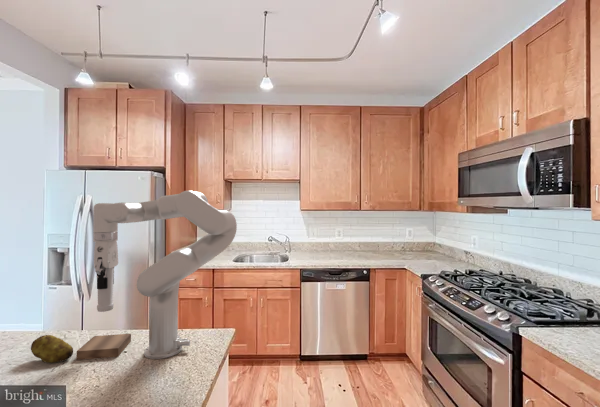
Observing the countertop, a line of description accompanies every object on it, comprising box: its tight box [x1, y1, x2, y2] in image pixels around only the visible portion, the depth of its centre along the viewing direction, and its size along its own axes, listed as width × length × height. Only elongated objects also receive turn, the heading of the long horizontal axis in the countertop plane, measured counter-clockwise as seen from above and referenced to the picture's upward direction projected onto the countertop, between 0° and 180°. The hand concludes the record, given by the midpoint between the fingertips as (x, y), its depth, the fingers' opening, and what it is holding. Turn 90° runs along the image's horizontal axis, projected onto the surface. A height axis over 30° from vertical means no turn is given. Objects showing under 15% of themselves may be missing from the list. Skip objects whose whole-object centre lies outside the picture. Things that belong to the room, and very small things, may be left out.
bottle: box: [96, 267, 115, 313], centre depth 115 cm, size 5×5×25 cm
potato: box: [30, 334, 74, 364], centre depth 108 cm, size 8×13×8 cm, turn 67°
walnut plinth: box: [76, 333, 132, 361], centre depth 115 cm, size 13×13×3 cm
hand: (105, 286), depth 115 cm, fingers closed on bottle, 5 cm apart
